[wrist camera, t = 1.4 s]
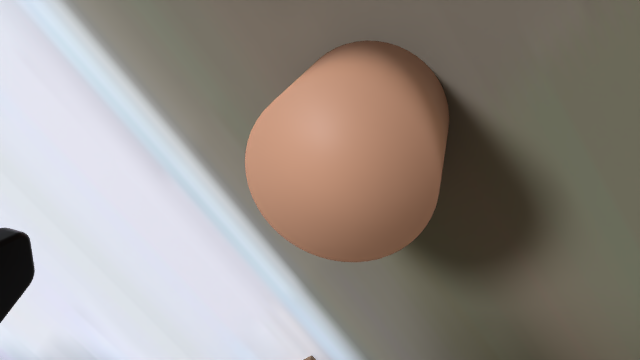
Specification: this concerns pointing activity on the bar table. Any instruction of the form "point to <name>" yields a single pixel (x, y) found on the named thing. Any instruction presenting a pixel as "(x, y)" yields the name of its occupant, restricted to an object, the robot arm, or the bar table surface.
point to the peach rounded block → (352, 153)
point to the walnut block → (310, 358)
